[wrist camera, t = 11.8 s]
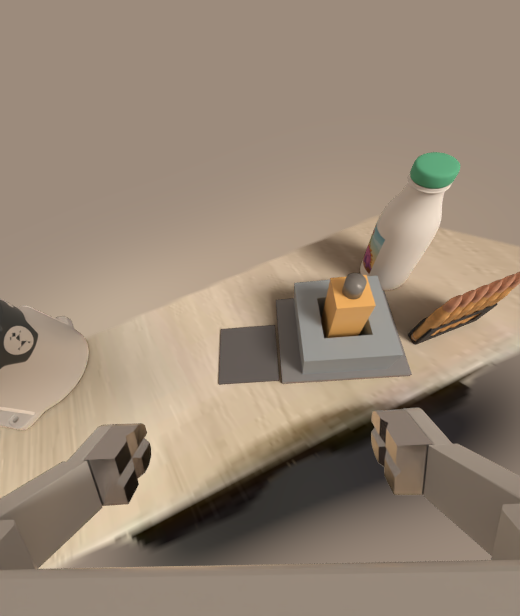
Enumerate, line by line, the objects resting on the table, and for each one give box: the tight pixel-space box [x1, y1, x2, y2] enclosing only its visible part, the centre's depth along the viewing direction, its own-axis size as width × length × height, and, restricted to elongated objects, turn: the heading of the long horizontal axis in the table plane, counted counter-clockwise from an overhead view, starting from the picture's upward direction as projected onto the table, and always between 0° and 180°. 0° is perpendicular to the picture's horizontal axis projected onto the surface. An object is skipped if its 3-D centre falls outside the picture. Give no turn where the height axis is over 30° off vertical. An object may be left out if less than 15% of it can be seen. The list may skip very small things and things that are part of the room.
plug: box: [321, 273, 376, 338], centre depth 34 cm, size 4×4×14 cm
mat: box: [219, 325, 279, 384], centre depth 40 cm, size 9×9×1 cm
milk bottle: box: [360, 152, 460, 291], centre depth 37 cm, size 8×8×20 cm
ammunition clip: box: [408, 272, 520, 345], centre depth 34 cm, size 11×2×12 cm, turn 110°
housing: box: [276, 276, 412, 384], centre depth 38 cm, size 18×14×7 cm
